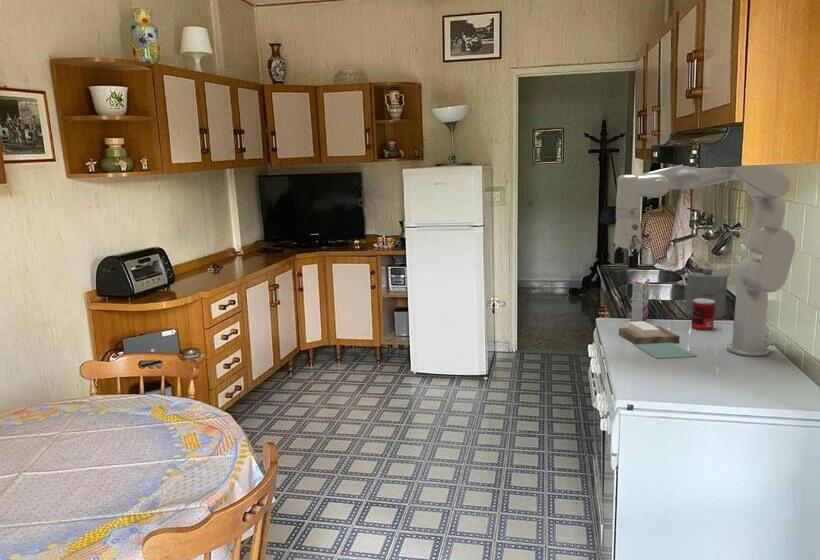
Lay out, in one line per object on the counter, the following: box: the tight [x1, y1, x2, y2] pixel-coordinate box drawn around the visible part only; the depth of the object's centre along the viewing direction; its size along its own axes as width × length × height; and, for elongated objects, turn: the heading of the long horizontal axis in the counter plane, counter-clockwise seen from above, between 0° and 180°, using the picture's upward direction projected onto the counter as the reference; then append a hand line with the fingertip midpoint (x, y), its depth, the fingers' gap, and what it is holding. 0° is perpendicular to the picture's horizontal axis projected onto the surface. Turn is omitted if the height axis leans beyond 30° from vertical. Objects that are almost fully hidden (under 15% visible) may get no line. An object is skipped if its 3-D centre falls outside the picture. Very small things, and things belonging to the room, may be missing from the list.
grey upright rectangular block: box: [684, 267, 728, 319], centre depth 261 cm, size 15×6×20 cm, turn 70°
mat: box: [633, 343, 697, 360], centre depth 216 cm, size 14×16×1 cm
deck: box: [618, 325, 681, 345], centre depth 230 cm, size 16×14×2 cm
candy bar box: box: [630, 277, 650, 322], centre depth 257 cm, size 11×5×16 cm, turn 150°
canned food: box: [691, 298, 715, 331], centre depth 243 cm, size 8×8×11 cm
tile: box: [627, 321, 660, 337], centre depth 230 cm, size 6×12×2 cm, turn 7°
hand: (625, 265), depth 208 cm, fingers open, 9 cm apart
